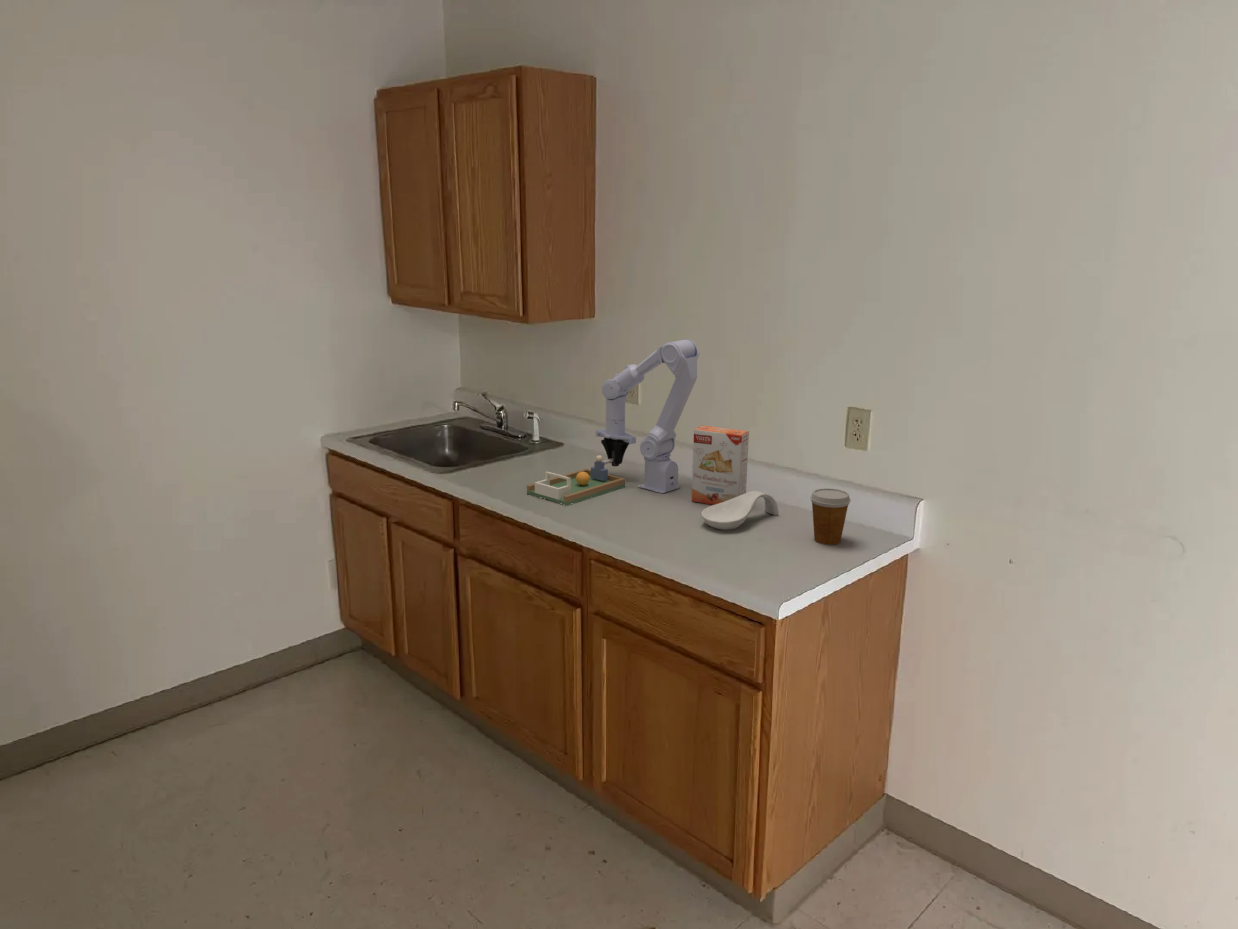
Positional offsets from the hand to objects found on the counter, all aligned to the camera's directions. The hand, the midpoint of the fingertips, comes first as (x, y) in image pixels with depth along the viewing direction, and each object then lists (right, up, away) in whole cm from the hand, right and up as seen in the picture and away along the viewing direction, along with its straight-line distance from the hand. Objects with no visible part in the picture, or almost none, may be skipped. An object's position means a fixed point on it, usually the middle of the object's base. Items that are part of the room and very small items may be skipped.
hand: (615, 463), depth 268 cm
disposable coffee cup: (+52, -19, -49) cm, 74 cm away
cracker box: (+29, -11, -21) cm, 37 cm away
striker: (-2, -4, -2) cm, 5 cm away
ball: (-9, -4, -10) cm, 14 cm away
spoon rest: (+33, -16, -36) cm, 51 cm away
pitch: (-11, -8, -11) cm, 17 cm away
